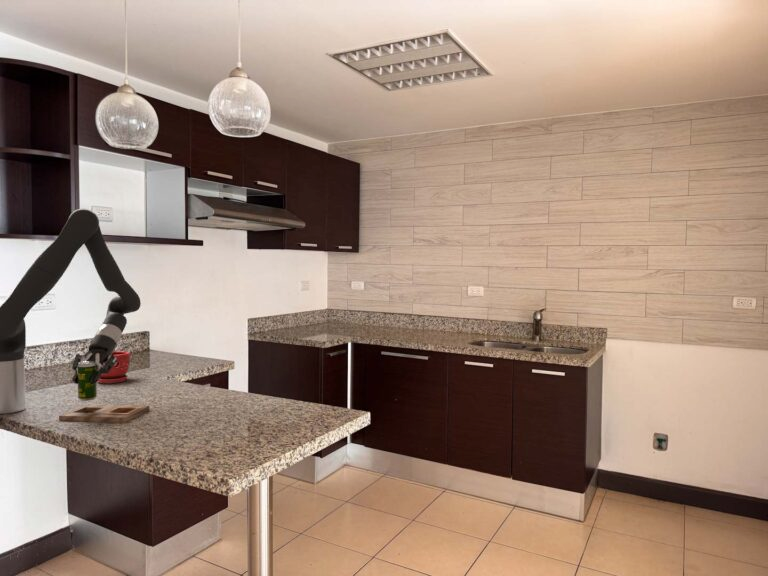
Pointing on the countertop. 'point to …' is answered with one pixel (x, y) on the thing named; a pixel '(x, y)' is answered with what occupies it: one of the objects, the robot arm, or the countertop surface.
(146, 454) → the countertop surface
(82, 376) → the beer can
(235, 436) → the countertop surface
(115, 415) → the socket board
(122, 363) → the plant pot
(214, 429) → the countertop surface
